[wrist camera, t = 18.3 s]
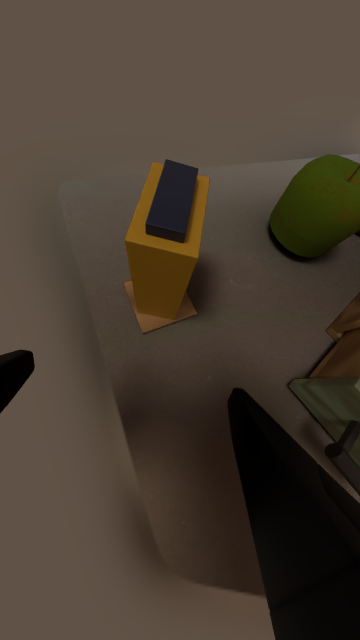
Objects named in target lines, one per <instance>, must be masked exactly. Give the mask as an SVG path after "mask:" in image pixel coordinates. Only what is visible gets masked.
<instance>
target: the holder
mask: <svg viewBox="0 0 360 640" xmlns="http://www.w3.org/2000/svg"><path fill="white" fill-rule="evenodd" d="M209 182H210V178H208V177H204V176H201V175H198V168H194V167H191V166H188V165H184V164H181V163H177V162H174V161H171V160H166V161H165V164H164V165H162V164H159V163H156V162H153V164H152V167H151V170H150V172H149V175H148V178H147V181H146V183H145V186H144V189H143V192H142V194H141V197H140V200H139V203H138V205H137V208H136V211H135V214H134V216H133V219H132V222H131V224H130V227H129V230H128V233H127V235H126V238H125V244H126V250H127V256H128V261H129V267H130V273H131V279H132V285H133V291H134V297H135V302H136V308H137V313H142V314H147V315H152V316H157V317H161V318H166V319H171V320H175V318H176V315H177V313H178V310H179V308H180V305H181V302H182V300H183V297H184V294H185V292H186V289H187V286H188V284H189V281H190V279H191V276H192V273H193V271H194V268H195V265H196V263H197V260H198V257H199V250H200V243H201V236H202V230H203V223H204V216H205V209H206V202H207V196H208V189H209Z"/></svg>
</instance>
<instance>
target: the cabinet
mask: <svg viewBox="0 0 360 640" xmlns="http://www.w3.org/2000/svg"><path fill="white" fill-rule="evenodd" d="M358 327H360V293H359V294H358V295H357V296H356V297H355V298H354V300H353V301H352V302H351V303H350V304H349V305H348V306H347V307H346V308H345V309H344V311H343V312H342V313H341V314H340V315H339V316H338V317H337V318H336V319H335V320H334V322H333V323H332V324H331V325H330V326H329V327H328V328H327V329H326V332H327V333H328V334H329V335H330V336H331V337H332V338H333V339H334V340H335V341H336V342H338V341H339V340H340V339H341V338H342V336H343V335H344V334H345V333H346V332H347V330H351V329H354V328H358Z"/></svg>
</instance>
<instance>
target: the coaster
mask: <svg viewBox="0 0 360 640" xmlns="http://www.w3.org/2000/svg"><path fill="white" fill-rule="evenodd" d="M123 283H124V286H125V289H126V291H127V294H128V297H129V299H130V302H131V304H132V307H133V310H134V312H135V315H136V318H137V320H138V323H139V325H140V328H141V331H142V333H143V334H145V333H148V332H151V331H153V330H156V329H159V328H162V327H164V326H167V325H170V324H173V323H175V322H178V321H181V320H184V319H186V318H189V317H192V316H194V315H197V312H196V310H195V308H194V306H193V304H192V302H191V300H190V298H189V296H188V294H187V292H185V294H184V297H183V300H182V302H181V305H180V308H179V310H178V313H177V315H176V318H175V320H171V319H166V318H161V317H157V316H152V315H147V314H142V313H137V308H136V302H135V297H134V291H133V285H132V280H131V281H127V282H123Z"/></svg>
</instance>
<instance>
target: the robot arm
mask: <svg viewBox="0 0 360 640" xmlns="http://www.w3.org/2000/svg"><path fill="white" fill-rule="evenodd" d="M34 367H35V366H34V358H33V353H32V352H31V351H27V350H17V351H14V352H10V353H7V354H4V355H0V413H1V412H2V411H3V409H4V408H5V407H6V406H7V405H8V404H9V402H10V401H11V400H12V399H13V397H14V396H15V395H16V393H17V392H18V391H19V390H20V388H21V387H22V385H23V384H24V383H25V382H26V380H27V379H28V378H29V376H30V375H31V374H32V372H33V370H34ZM227 405H228V414H229V422H230V430H231V438H232V443H233V448H234V453H235V457H236V462H237V466H238V471H239V475H240V480H241V484H242V489H243V493H244V498H245V502H246V507H247V512H248V516H249V521H250V525H251V530H252V534H253V539H254V543H255V548H256V552H257V557H258V561H259V566H260V570H261V575H262V580H263V584H264V589H265V593H266V598H267V602H268V607H269V610H270V616H271V621H272V626H273V630H274V635H275V639H276V640H360V503H359V502H358V501H357V500H355V499H354V498H353V497H352V496H351V495H350V494H349V493H348V492H347V491H346V490H345V489H344V488H343V487H342V486H341V485H340V484H339V483H338V482H337V481H336V480H334V479H333V478H332V477H331V476H330V475H329V474H328V473H327V472H326V471H325V470H324V469H323V468H322V467H321V466H320V465H319V464H317V462H316V461H315V460H314V459H313V458H312V457H311V456H310V455H309V454H308V453H307V452H306V451H305V450H304V449H303V448H302V447H301V446H300V445H299V444H298V443H297V442H296V441H295V440H294V439H293V438H292V437H291V436H290V435H289V434H288V433H287V432H286V431H285V430H284V429H283V428H282V427H281V426H280V425H279V424H278V423H277V422H276V421H275V420H274V419H273V418H272V417H271V416H270V415H269V414H268V413H267V412H266V411H265V410H264V409H263V408H262V407H261V406H260V405H259V404H258V403H257V402H256V401H255V400H254V399H253V398H252V397H251V396H250V395H249V394H248V393H247V392H246V391H245V390H243V389H241V388H234V389H233V390H232V392H231V394H230V397H229V399H228V403H227Z"/></svg>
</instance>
